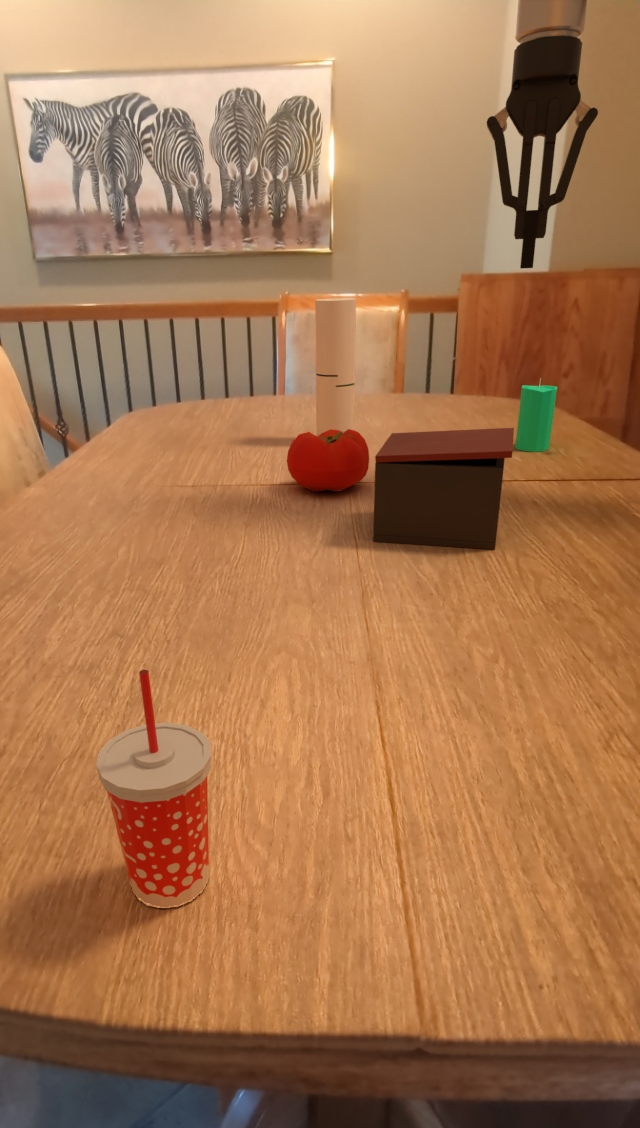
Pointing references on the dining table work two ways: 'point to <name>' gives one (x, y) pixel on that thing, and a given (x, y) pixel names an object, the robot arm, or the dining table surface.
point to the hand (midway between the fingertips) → (526, 267)
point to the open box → (438, 502)
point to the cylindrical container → (335, 364)
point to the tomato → (328, 460)
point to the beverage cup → (160, 805)
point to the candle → (535, 418)
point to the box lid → (447, 445)
